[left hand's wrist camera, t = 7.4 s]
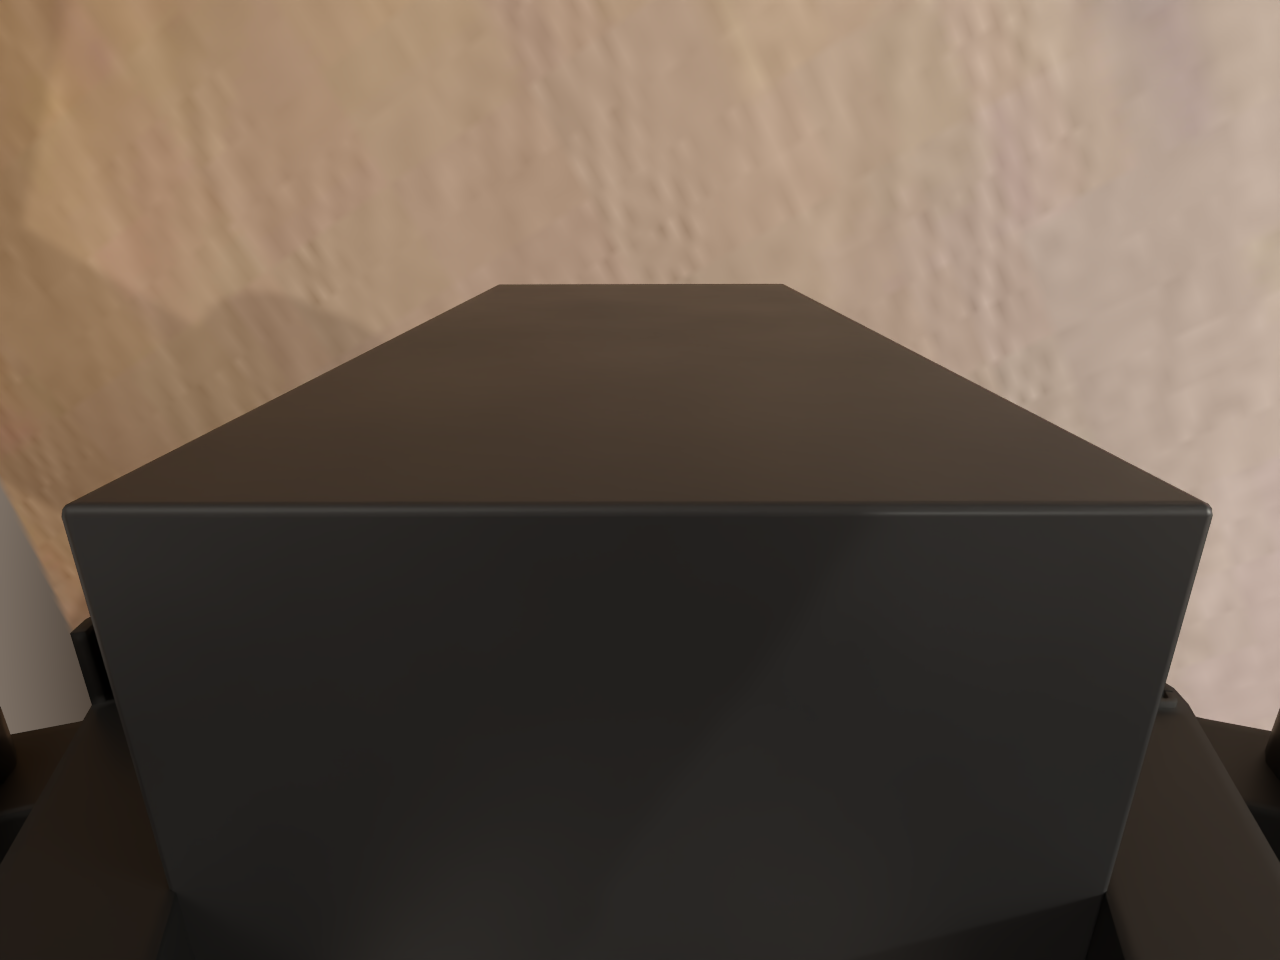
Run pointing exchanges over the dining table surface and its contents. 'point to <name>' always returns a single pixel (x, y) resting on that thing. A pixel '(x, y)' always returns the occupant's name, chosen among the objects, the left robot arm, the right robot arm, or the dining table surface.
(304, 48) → the dining table surface
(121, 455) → the dining table surface
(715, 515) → the box
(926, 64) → the dining table surface
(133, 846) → the left robot arm
